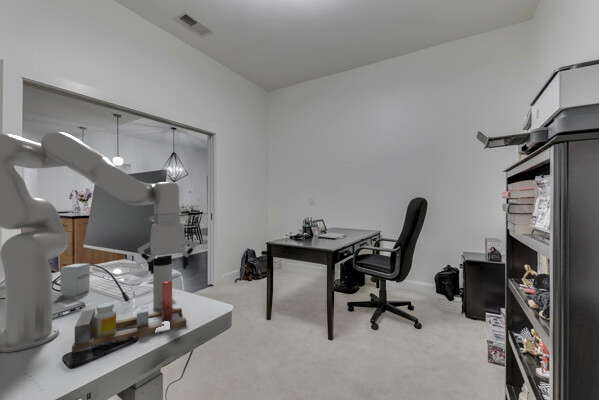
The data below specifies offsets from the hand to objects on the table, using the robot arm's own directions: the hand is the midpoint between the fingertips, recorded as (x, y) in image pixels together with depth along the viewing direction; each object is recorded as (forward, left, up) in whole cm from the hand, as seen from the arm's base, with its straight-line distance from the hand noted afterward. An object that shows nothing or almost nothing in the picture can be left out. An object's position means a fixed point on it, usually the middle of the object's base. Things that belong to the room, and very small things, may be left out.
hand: (168, 270), depth 86 cm
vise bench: (-10, 0, -17) cm, 20 cm away
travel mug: (-1, +15, -17) cm, 23 cm away
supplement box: (-33, +57, -18) cm, 68 cm away
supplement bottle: (-17, 0, -18) cm, 24 cm away
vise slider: (-3, 0, -17) cm, 17 cm away
